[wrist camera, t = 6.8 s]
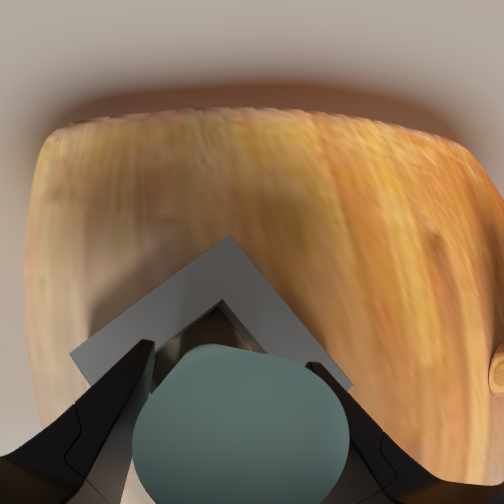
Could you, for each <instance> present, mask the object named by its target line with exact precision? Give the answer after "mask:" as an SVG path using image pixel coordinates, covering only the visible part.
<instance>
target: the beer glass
mask: <svg viewBox="0 0 504 504" xmlns="http://www.w3.org/2000/svg"><path fill="white" fill-rule="evenodd" d="M489 388H490V391H491V393H492V395H493V396H494V397H503V396H504V344H501V345H499V346H498V347H497V349H496V350H495V352H494V354H493V357H492V360H491V363H490V369H489Z"/></svg>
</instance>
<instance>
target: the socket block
mask: <svg viewBox="0 0 504 504" xmlns="http://www.w3.org/2000/svg"><path fill="white" fill-rule="evenodd" d="M217 306H218V307H219V308H220V309H221V311H222V312H223V313H224V314H225V316H226V317H227V318H228V319H229V320H230V322H231V323H232V324H233V325H234V327H235V328H236V329H237V330H238V331H239V333H240V334H241V335H242V336H243V337H244V339H245V340H246V341H247V342H248V343H249V345H250V346H251V347H252V348H253V349H254V351H255V352H258V353H263V354H268V355H273V356H277V357H281V358H285V359H288V360H290V361H293V362H295V363H298V364H300V365H302V366H303V367H305V365H306V364H307V362H309V361H314V362H320V363H321V364H322V365H323V366H324V367H325V368H326V369H327V370H328V371H329V372H330V373H331V375H332V376H333V377H334V378H335V379H336V380H337V381H338V382H339V383H340V384H341V386H342V387H343V388H344V389H345V390H346V391H347V390H348V389H349V388H350V387H351V386H352V385H353V383H352V382H351V381H350V380H349V379H348V377H347V376H346V375H345V374H344V373H343V371H342V370H341V369H340V368H339V367H338V365H337V364H336V363H335V362H334V360H333V359H332V358H331V357H330V356H329V354H328V353H327V352H326V351H325V350H324V348H323V347H322V346H321V345H320V344H319V342H318V341H317V340H316V339H315V338H314V336H313V335H312V334H311V333H310V331H309V330H308V329H307V328H306V327H305V325H304V324H303V323H302V322H301V321H300V319H299V318H298V317H297V316H296V315H295V313H294V312H293V311H292V310H291V308H290V307H289V306H288V305H287V304H286V302H285V301H284V300H283V299H282V297H281V296H280V295H279V294H278V293H277V291H276V290H275V289H274V288H273V287H272V285H271V284H270V283H269V282H268V280H267V279H266V278H265V277H264V276H263V274H262V273H261V272H260V271H259V269H258V268H257V267H256V266H255V265H254V263H253V262H252V261H251V260H250V258H249V257H248V256H247V255H246V254H245V252H244V251H243V250H242V249H241V247H240V246H239V245H238V244H237V243H236V241H235V240H234V239H233V238H232V236H231V235H228V236H227V237H226V238H224V239H223V240H221V241H220V242H219V243H217V244H216V245H214V246H213V247H211V248H210V249H209V250H207V251H206V252H204V253H203V254H202V255H200V256H199V257H198V258H196V259H195V260H193V261H192V262H191V263H189V264H188V265H186V266H185V267H184V268H182V269H181V270H180V271H178V272H177V273H175V274H174V275H173V276H171V277H170V278H169V279H167V280H166V281H164V282H163V283H162V284H160V285H159V286H158V287H156V288H155V289H154V290H152V291H151V292H150V293H148V294H147V295H146V296H144V297H143V298H142V299H140V300H139V301H137V302H136V303H135V304H133V305H132V306H131V307H129V308H128V309H127V310H125V311H124V312H123V313H122V314H120V315H119V316H118V317H116V318H115V319H114V320H112V321H111V322H110V323H108V324H107V325H106V326H104V327H103V328H102V329H101V330H99V331H98V332H97V333H95V334H94V335H93V336H91V337H90V338H89V339H88V340H86V341H85V342H84V343H82V344H81V345H80V346H79V347H77V348H76V349H75V350H73V351H72V352H71V353H70V356H71V357H72V359H73V360H74V362H75V364H76V365H77V367H78V368H79V370H80V371H81V373H82V374H83V376H84V377H85V379H86V380H87V381H88V383H89V384H90V386H93V385H94V384H95V383H96V382H97V381H98V380H99V379H100V378H101V377H102V376H103V375H104V374H105V373H106V372H107V371H108V370H109V369H110V368H111V367H112V366H114V365H115V364H116V363H117V362H118V361H119V360H120V359H121V358H122V357H123V356H124V355H125V354H126V353H127V352H128V351H129V350H130V349H131V348H133V347H134V346H135V345H136V344H137V343H138V342H139V341H140V340H141V339H147V340H152V341H154V342H155V354H156V353H157V352H158V351H160V350H161V349H162V348H164V347H165V346H166V345H168V344H169V343H170V342H172V341H173V340H174V339H176V338H177V337H178V336H180V335H181V334H182V333H183V332H185V331H186V330H187V329H189V328H190V327H191V326H193V325H194V324H195V323H197V322H198V321H199V320H200V319H202V318H203V317H204V316H206V315H207V314H208V313H210V312H211V311H212V310H213V309H215V308H216V307H217ZM157 387H158V385H157V384H156V383H155V381H154V380H153V379H152V380H151V386H150V392H149V397H150V396H151V395H152V393H153V392H154V391H155V390H156V389H157ZM149 397H148V398H149Z"/></svg>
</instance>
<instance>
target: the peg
mask: <svg viewBox="0 0 504 504" xmlns="http://www.w3.org/2000/svg"><path fill="white" fill-rule="evenodd" d="M348 450H349V427H348V422H347V418H346V415H345V412H344V409H343V407H342V405H341V403H340V401H339V399H338V397H337V396H336V395H335V393H334V392H333V391H332V389H331V388H330V387H329V386H328V385H327V384H326V383H325V382H324V381H323V380H322V379H321V378H320V377H319V376H317V375H316V374H315V373H313V372H312V371H311V370H309V369H307V368H305V367H303V366H302V365H300V364H298V363H295V362H293V361H290V360H288V359H285V358H281V357H277V356H273V355H268V354H263V353H258V352H253V351H248V350H243V349H238V348H233V347H229V346H224V345H220V344H215V343H204V344H200V345H197V346H195V347H193V348H191V349H190V350H189V351H188V352H186V353H185V355H184V356H183V357H182V358H181V359H180V361H179V362H178V363H177V364H176V366H175V367H174V368H173V369H172V370H171V372H170V373H169V374H168V375H167V376H166V378H165V379H164V380H163V381H162V383H161V384H160V385H159V386H158V387H157V389H156V390H155V391H154V392H153V393H152V395H151V396H150V397H149V398H148V400H147V402H146V403H145V405H144V406H143V408H142V409H141V412H140V414H139V416H138V418H137V421H136V424H135V428H134V432H133V439H132V455H133V461H134V466H135V470H136V472H137V475H138V477H139V480H140V482H141V484H142V485H143V487H144V488H145V490H146V492H147V493H148V494H149V496H150V497H151V498H152V499H153V500H154V502H155V503H156V504H319V503H321V501H322V500H323V499H324V498H325V497H326V496H327V495H328V494H329V493H330V491H331V490H332V488H333V487H334V486H335V484H336V483H337V481H338V479H339V477H340V475H341V473H342V471H343V468H344V466H345V463H346V459H347V455H348Z"/></svg>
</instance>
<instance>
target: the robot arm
mask: <svg viewBox="0 0 504 504" xmlns="http://www.w3.org/2000/svg"><path fill="white" fill-rule="evenodd" d="M154 364H155V342H154V341H152V340H147V339H141V340H140V341H139V342H138V343H137V344H136V345H135V346H134V347H133V348H131V349H130V350H129V351H128V352H127V353H126V354H125V355H124V356H123V357H122V358H121V359H120V360H119V361H118V362H117V363H116V364H115V365H114V366H112V367H111V368H110V369H109V370H108V371H107V372H106V373H105V374H104V375H103V376H102V377H101V378H100V379H99V380H98V381H97V382H96V383H95V384H94V385H93V386H91V387H90V388H89V389H88V390H87V391H86V392H85V393H84V394H83V395H82V396H81V397H80V398H79V399H78V400H77V401H76V402H75V405H74V404H73V405H71V406H70V407H69V408H68V409H67V410H66V411H65V412H64V413H63V414H62V415H61V416H60V417H59V418H58V419H56V420H55V421H54V422H53V423H52V424H50V425H49V426H48V427H46V428H45V429H44V430H43V431H41V432H40V433H38V434H37V435H36V436H34V437H33V438H32V439H30V440H29V441H27V442H26V443H25V444H23V445H22V446H20V447H19V448H18V449H16V450H15V451H13V452H11V453H9V454H7V455H4V456H1V457H0V504H120V502H121V498H122V494H123V490H124V486H125V482H126V478H127V474H128V470H129V467H130V463H131V459H132V439H133V432H134V428H135V424H136V421H137V418H138V416H139V414H140V412H141V409H142V408H143V406H144V405H145V403H146V402H147V400H148V397H149V392H150V386H151V380H152V375H153V369H154ZM305 368H307V369H309V370H311V371H312V372H313V373H315V374H316V375H317V376H319V377H320V378H321V379H322V380H323V381H324V382H325V383H326V384H327V385H328V386H329V387H330V388H331V389H332V391H333V392H334V393H335V395H336V396H337V397H338V399H339V401H340V403H341V405H342V407H343V409H344V412H345V415H346V418H347V422H348V427H349V450H348V455H347V459H346V463H345V466H344V468H343V471H342V473H341V475H340V477H339V479H338V481H337V483H336V484H335V486H334V487H333V488H332V490H331V491H330V493H329V494H328V495H327V496H326V497H325V498H324V499H323V500H322V501H321V503H319V504H504V481H503V482H502V483H501V484H499V485H494V486H485V485H474V484H464V483H457V482H450V481H445V480H441V479H439V478H437V477H435V476H434V475H432V474H431V473H430V472H428V471H427V470H426V469H425V468H423V467H422V466H421V465H420V464H419V463H417V462H416V461H415V460H414V459H413V458H411V457H410V456H409V455H408V454H407V453H406V452H405V451H403V450H402V449H401V448H400V447H399V446H398V445H397V444H396V443H395V442H394V441H393V440H392V439H391V438H390V437H389V436H388V435H387V434H386V433H385V432H383V430H382V429H381V428H380V426H379V425H378V424H377V423H376V422H375V421H374V420H373V419H372V418H371V417H370V416H369V415H368V414H367V413H366V412H365V410H364V409H363V408H362V407H361V406H360V405H359V404H358V403H357V402H356V401H355V400H354V399H353V397H352V396H351V395H350V394H349V393H348V392H347V391H346V390H345V389H344V388H343V387H342V386H341V384H340V383H339V382H338V381H337V380H336V379H335V378H334V377H333V376H332V375H331V373H330V372H329V371H328V370H327V369H326V368H325V367H324V366H323V365H322V364H321V363H320V362H314V361H309V362H307V364H306V365H305Z"/></svg>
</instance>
